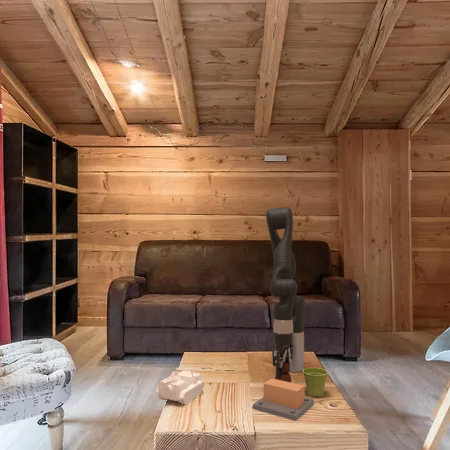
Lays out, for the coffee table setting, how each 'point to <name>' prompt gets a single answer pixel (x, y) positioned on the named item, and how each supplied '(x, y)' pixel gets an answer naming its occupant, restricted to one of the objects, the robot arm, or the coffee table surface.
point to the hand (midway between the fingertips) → (282, 374)
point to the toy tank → (181, 386)
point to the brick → (284, 393)
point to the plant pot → (315, 381)
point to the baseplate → (283, 408)
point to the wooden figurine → (285, 373)
